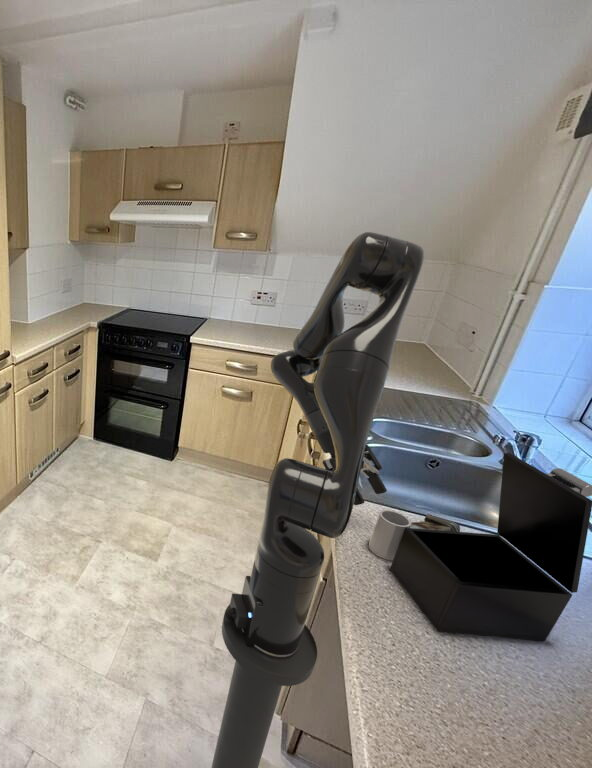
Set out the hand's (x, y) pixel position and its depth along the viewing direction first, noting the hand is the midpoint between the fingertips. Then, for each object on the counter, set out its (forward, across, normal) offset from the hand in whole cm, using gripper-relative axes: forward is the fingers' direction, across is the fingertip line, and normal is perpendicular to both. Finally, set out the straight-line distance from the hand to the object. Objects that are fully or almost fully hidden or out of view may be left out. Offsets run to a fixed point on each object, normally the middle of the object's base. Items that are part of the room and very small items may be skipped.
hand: (371, 498), depth 87 cm
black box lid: (+9, +3, -22) cm, 24 cm away
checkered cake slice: (+12, +12, +2) cm, 18 cm away
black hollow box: (+20, -1, -6) cm, 21 cm away
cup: (+11, 0, +4) cm, 11 cm away
